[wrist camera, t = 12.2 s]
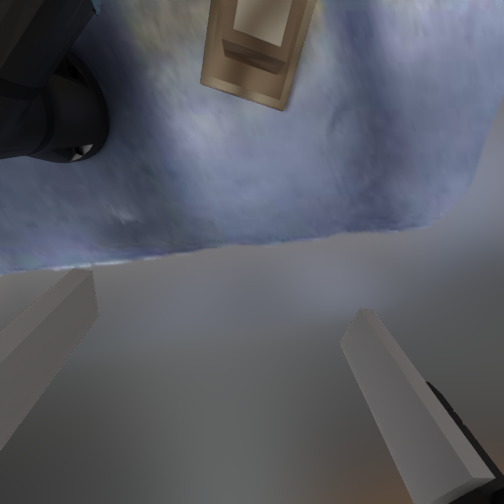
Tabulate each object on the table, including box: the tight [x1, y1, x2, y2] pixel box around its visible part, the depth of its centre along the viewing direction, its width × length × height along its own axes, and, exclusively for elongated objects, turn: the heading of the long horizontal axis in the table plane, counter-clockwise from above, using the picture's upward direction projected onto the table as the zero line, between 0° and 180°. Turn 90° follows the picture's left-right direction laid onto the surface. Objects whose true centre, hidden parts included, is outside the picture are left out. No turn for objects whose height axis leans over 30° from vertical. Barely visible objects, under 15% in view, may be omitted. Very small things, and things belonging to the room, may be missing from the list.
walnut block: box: [221, 0, 303, 75], centre depth 25 cm, size 7×7×7 cm
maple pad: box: [200, 0, 316, 111], centre depth 29 cm, size 12×14×2 cm
